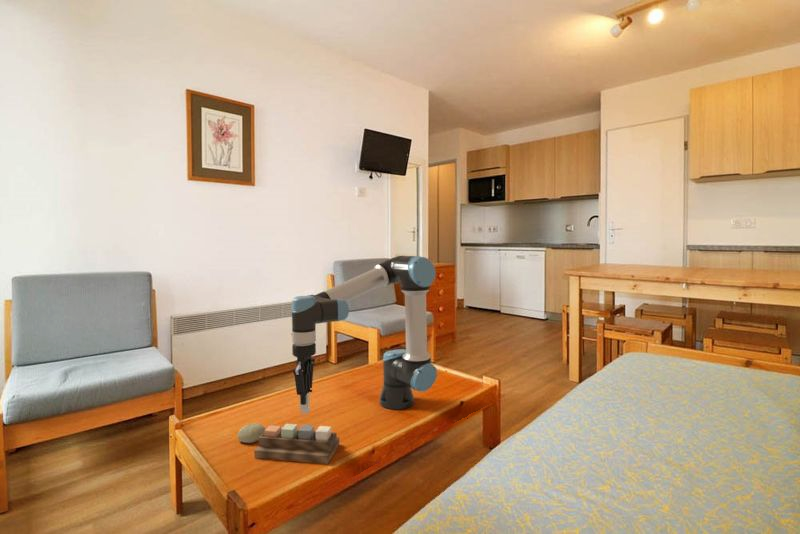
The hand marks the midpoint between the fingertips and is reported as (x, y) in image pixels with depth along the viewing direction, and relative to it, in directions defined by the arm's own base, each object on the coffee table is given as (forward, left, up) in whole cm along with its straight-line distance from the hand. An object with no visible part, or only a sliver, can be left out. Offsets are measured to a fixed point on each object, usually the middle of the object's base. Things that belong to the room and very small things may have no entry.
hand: (304, 412), depth 131 cm
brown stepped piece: (+3, 0, -14) cm, 14 cm away
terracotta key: (+12, 0, -10) cm, 15 cm away
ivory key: (-6, 0, -9) cm, 11 cm away
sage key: (+6, 0, -9) cm, 11 cm away
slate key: (0, 0, -9) cm, 9 cm away
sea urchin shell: (+23, -6, -14) cm, 27 cm away
